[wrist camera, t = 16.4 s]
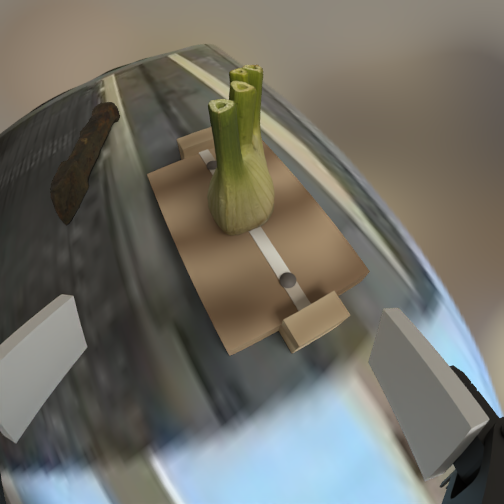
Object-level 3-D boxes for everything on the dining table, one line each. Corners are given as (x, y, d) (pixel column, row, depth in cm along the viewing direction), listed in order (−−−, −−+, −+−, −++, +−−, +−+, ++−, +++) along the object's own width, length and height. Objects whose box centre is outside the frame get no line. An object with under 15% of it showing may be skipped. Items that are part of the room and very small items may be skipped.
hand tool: (100, 124, 34) (90, 100, 30) (122, 119, 34) (114, 94, 30) (51, 229, 25) (30, 205, 20) (78, 227, 25) (56, 200, 21)
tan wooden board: (147, 176, 27) (139, 154, 24) (247, 138, 30) (247, 116, 27) (242, 379, 18) (241, 377, 15) (374, 301, 21) (391, 286, 18)
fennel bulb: (236, 256, 20) (225, 112, 10) (193, 218, 22) (161, 83, 11) (287, 211, 22) (310, 75, 12) (244, 180, 24) (243, 52, 14)
